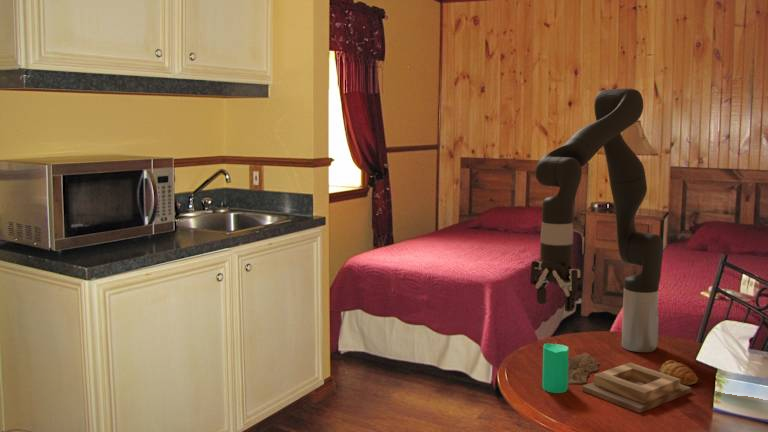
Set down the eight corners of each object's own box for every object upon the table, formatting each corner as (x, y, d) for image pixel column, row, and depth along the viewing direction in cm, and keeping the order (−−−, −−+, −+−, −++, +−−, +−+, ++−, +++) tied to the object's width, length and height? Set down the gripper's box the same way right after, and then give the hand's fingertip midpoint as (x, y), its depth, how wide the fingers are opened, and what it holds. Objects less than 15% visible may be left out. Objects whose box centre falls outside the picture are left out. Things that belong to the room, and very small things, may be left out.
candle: (537, 388, 170) (538, 341, 168) (550, 381, 174) (552, 335, 172) (559, 395, 165) (560, 346, 164) (572, 388, 169) (573, 340, 168)
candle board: (632, 372, 179) (633, 358, 178) (690, 392, 166) (691, 377, 165) (582, 390, 168) (582, 376, 167) (639, 413, 155) (640, 397, 154)
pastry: (705, 384, 171) (705, 369, 171) (683, 388, 169) (684, 373, 168) (677, 371, 180) (677, 357, 179) (656, 375, 178) (656, 361, 177)
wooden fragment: (581, 389, 169) (581, 385, 169) (538, 381, 175) (538, 377, 175) (610, 358, 191) (610, 355, 190) (570, 351, 196) (571, 348, 196)
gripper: (591, 243, 161) (589, 311, 163) (545, 235, 173) (543, 298, 175) (569, 247, 157) (567, 316, 159) (523, 238, 168) (522, 303, 171)
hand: (555, 307), depth 167 cm, fingers open, 8 cm apart
